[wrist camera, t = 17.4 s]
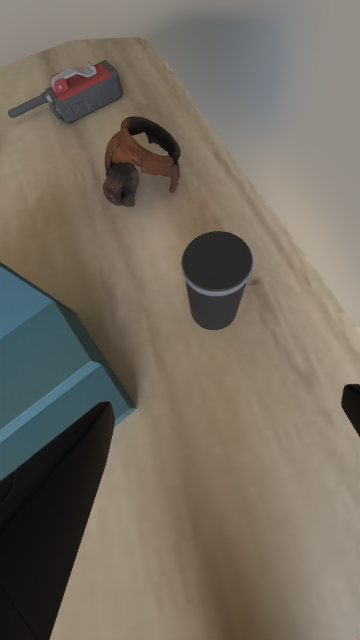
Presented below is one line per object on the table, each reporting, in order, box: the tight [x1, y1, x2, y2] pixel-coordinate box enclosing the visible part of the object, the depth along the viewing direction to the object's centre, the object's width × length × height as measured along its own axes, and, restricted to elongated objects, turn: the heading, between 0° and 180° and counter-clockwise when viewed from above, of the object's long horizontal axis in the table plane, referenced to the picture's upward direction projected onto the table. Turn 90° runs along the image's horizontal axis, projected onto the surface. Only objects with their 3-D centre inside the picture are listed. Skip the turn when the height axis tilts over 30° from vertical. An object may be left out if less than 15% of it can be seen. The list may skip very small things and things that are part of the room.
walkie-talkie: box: [8, 60, 123, 123], centre depth 38 cm, size 9×4×20 cm
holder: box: [181, 231, 253, 330], centre depth 20 cm, size 5×5×9 cm
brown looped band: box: [103, 117, 180, 206], centre depth 29 cm, size 12×10×8 cm
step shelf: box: [0, 262, 136, 481], centre depth 18 cm, size 13×14×10 cm
